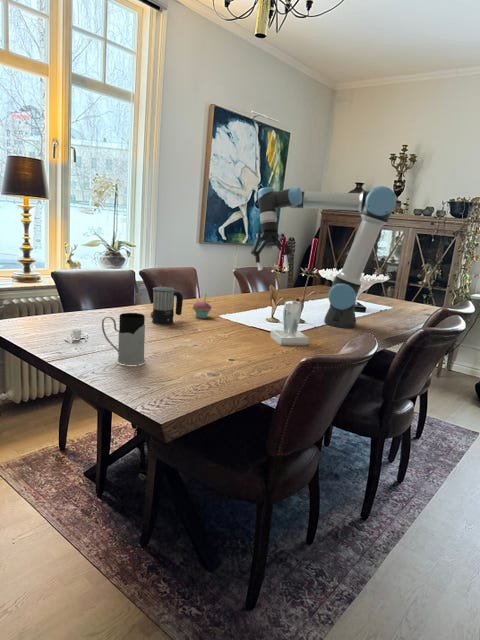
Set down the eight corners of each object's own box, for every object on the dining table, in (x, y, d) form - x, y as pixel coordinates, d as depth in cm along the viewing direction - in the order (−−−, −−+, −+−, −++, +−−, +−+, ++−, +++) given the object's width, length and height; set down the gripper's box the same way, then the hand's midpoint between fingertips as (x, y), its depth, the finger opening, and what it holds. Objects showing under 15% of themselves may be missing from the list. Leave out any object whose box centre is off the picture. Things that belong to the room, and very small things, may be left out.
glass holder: (138, 368, 131) (140, 320, 128) (95, 362, 134) (95, 314, 130) (149, 359, 140) (151, 314, 136) (108, 353, 142) (108, 309, 138)
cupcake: (214, 317, 204) (215, 292, 201) (203, 320, 196) (204, 294, 194) (199, 313, 208) (201, 289, 205) (188, 316, 201) (189, 291, 198)
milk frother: (163, 326, 181) (164, 291, 177) (135, 319, 189) (136, 285, 185) (184, 320, 193) (186, 287, 189) (158, 314, 201) (159, 282, 197)
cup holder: (296, 336, 181) (297, 329, 180) (308, 345, 170) (309, 337, 170) (270, 336, 178) (271, 329, 177) (280, 345, 167) (281, 337, 166)
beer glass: (297, 342, 170) (301, 305, 167) (279, 339, 171) (283, 302, 168) (298, 337, 177) (302, 301, 173) (281, 335, 178) (285, 299, 174)
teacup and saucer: (84, 336, 160) (84, 325, 159) (94, 342, 154) (94, 331, 153) (60, 339, 154) (60, 328, 153) (70, 345, 148) (70, 334, 147)
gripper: (287, 226, 204) (291, 271, 203) (240, 224, 192) (245, 271, 191) (296, 221, 197) (301, 268, 196) (248, 219, 185) (253, 268, 184)
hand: (273, 270), depth 194 cm, fingers open, 13 cm apart
